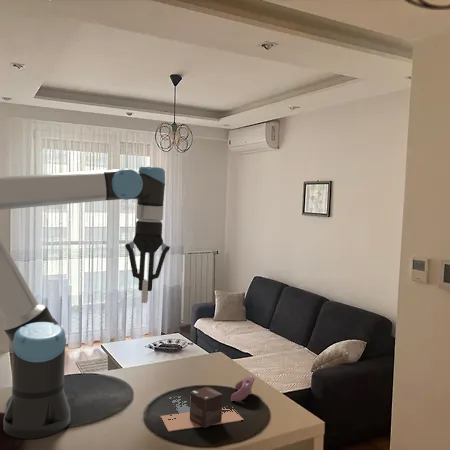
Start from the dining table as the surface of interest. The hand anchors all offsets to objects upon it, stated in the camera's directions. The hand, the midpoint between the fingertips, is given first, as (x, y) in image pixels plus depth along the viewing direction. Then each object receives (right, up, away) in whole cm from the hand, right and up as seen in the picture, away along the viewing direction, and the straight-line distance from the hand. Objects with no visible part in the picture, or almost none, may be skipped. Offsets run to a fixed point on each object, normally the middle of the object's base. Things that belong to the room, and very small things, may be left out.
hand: (144, 301), depth 135 cm
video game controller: (+28, -28, 0) cm, 40 cm away
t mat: (+15, -27, -10) cm, 33 cm away
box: (+18, -28, -16) cm, 37 cm away
